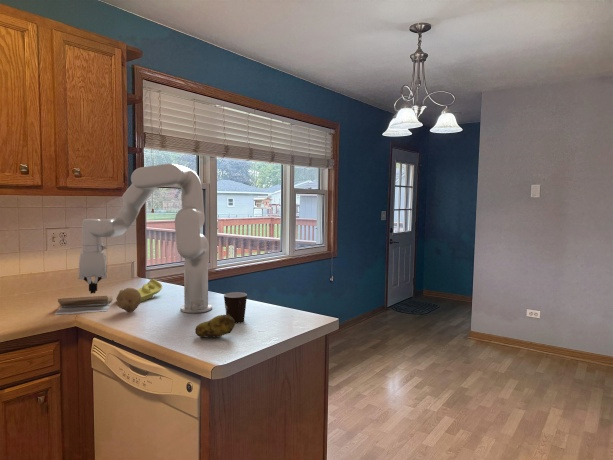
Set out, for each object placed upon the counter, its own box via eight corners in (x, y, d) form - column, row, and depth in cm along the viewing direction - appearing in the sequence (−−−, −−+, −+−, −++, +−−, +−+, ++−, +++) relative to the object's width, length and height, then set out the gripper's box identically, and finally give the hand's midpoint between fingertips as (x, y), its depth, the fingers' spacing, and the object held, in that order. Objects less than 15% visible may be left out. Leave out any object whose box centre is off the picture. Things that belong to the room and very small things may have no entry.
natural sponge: (131, 316, 167) (131, 291, 166) (111, 314, 169) (111, 289, 168) (145, 310, 176) (145, 286, 175) (126, 309, 178) (126, 285, 177)
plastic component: (135, 299, 185) (118, 287, 188) (130, 313, 187) (114, 301, 190) (166, 287, 203) (151, 276, 206) (162, 300, 205) (146, 289, 208)
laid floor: (107, 311, 174) (107, 307, 174) (54, 314, 168) (53, 311, 168) (112, 299, 194) (112, 296, 194) (65, 302, 188) (64, 299, 188)
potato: (209, 331, 149) (208, 308, 148) (239, 337, 143) (239, 313, 142) (192, 338, 142) (191, 314, 141) (223, 345, 136) (222, 320, 135)
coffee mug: (226, 317, 166) (226, 292, 165) (248, 318, 166) (248, 292, 165) (219, 326, 155) (219, 299, 154) (243, 327, 154) (243, 299, 154)
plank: (107, 298, 178) (107, 295, 179) (57, 301, 172) (58, 298, 173) (109, 303, 185) (109, 300, 186) (61, 306, 179) (62, 303, 180)
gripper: (113, 247, 183) (113, 290, 184) (73, 248, 178) (74, 291, 179) (111, 249, 176) (111, 293, 177) (70, 250, 171) (71, 295, 172)
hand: (93, 292), depth 178 cm, fingers closed
